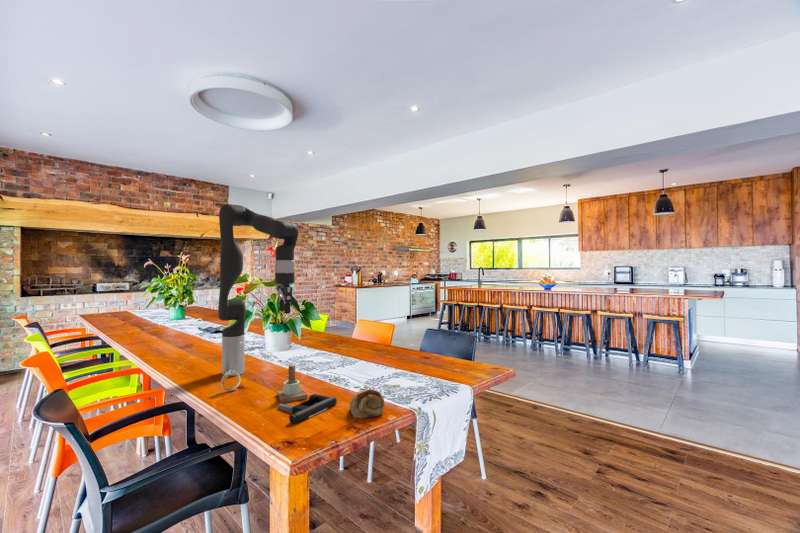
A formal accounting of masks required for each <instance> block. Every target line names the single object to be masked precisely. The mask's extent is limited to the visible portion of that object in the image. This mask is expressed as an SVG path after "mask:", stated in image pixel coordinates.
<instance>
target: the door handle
mask: <svg viewBox="0 0 800 533" xmlns="http://www.w3.org/2000/svg"><path fill="white" fill-rule="evenodd" d="M337 403H338V400H337V397H336V396H334V395H333V396H332V395H331V396H327V395H321V394H314V393H313V394H311V395H310V396H309V398H308V399H306V401H303V402H300V403H298V404H296V405H292V404H286V403H282V402H281V403H279V404H277V409H279V410H281V411H285V412H288V413H292V414H291V415H290V416H289V422H290V423H291V424H292V425H293V424H298V423H300V422H302V421H304V420H306V419H310V418H313V417H314V416H317V415H318V414H320V413H323V412H324V411H326V410H327V409H328V408H330V407H333V406H334V405H336V404H337Z"/></svg>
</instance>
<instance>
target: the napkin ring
mask: <svg viewBox="0 0 800 533" xmlns="http://www.w3.org/2000/svg"><path fill="white" fill-rule="evenodd" d="M300 387H301V381H300V380H298V379H295V383H294V384H289V379H287V380H286V381H284V382H283V390H284V395H288V396H292V395H297V394H299V393H300Z"/></svg>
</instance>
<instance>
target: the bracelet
mask: <svg viewBox="0 0 800 533" xmlns="http://www.w3.org/2000/svg"><path fill="white" fill-rule="evenodd" d="M232 374H234V375H235V376H236V377H237V383H236V385H235V386H233V387H230V388H227V387H226V386H225V382H226V380H227V379H228V377H231V376H230V375H232ZM226 375H227V376H226ZM240 375H241V374H240ZM240 375H239V374H238V373H237V372H235V370H234V371H231V370H229V371H228V372H226V374H224V375H222V377H221V387H222V388H223V389H224V390H225V391H227V392H232V391H234V390H236V389H237V388H238V387H239V386H240V385H241V384H240V383H241V380H242V379H241V376H240Z"/></svg>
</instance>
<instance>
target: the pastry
mask: <svg viewBox="0 0 800 533" xmlns="http://www.w3.org/2000/svg"><path fill="white" fill-rule="evenodd" d="M384 407H385V398H384V397H383V395H382V394H381V392H379V391H378V390H374V389H371V388H370V389H361V390H359V391H357V392H356V393H355V394H354V395H353V397H352V398H351V399H350V403H349V411H350V412H351V414H352V417H353V418H355V419H367V418H372V417H373V418H374V417H378V416H381V414H382V413H383V410H384Z"/></svg>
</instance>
